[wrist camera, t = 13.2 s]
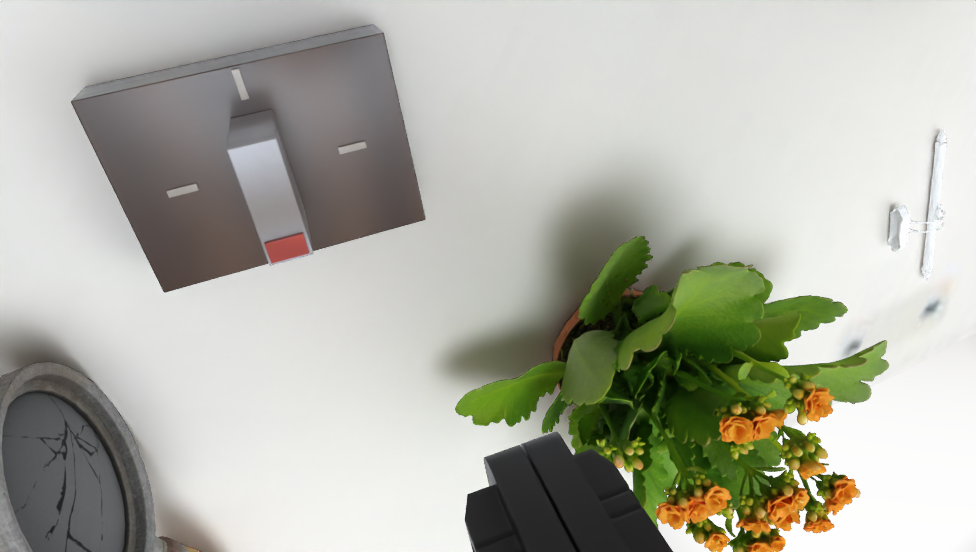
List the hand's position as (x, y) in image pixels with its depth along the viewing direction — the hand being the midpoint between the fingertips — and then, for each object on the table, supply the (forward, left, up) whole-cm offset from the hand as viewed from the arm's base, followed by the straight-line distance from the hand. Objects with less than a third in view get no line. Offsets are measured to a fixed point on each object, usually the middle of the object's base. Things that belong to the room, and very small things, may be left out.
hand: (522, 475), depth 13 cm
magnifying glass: (+11, +24, -27) cm, 38 cm away
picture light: (-45, +3, -27) cm, 53 cm away
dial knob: (+4, +2, -24) cm, 24 cm away
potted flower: (-20, +14, -27) cm, 37 cm away
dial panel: (+4, +2, -27) cm, 27 cm away
